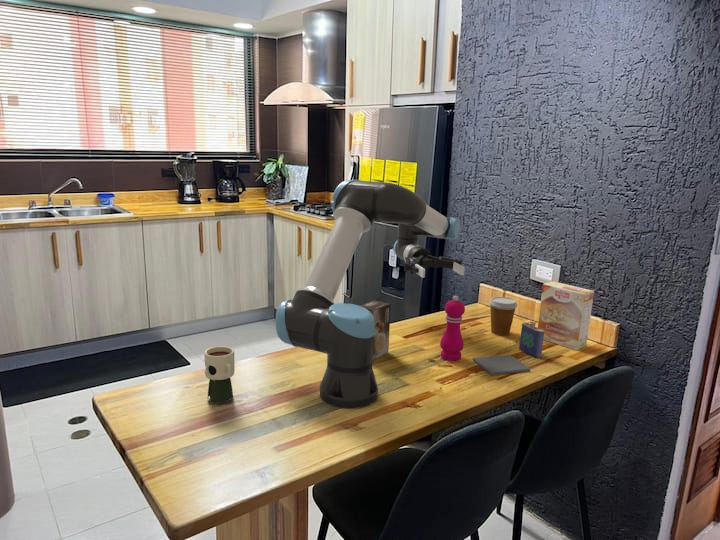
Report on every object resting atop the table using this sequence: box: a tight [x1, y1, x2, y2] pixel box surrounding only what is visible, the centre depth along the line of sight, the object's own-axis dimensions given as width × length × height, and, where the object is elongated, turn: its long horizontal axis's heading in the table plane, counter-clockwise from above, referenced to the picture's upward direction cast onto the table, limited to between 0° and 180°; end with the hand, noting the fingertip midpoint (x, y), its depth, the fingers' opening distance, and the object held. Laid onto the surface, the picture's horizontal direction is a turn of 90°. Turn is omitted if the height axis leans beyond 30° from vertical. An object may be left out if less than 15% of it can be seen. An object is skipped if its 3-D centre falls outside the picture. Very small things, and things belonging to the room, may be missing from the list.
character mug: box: [203, 345, 235, 404], centre depth 135 cm, size 11×7×13 cm, turn 41°
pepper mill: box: [439, 295, 466, 362], centre depth 167 cm, size 7×7×20 cm
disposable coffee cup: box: [488, 296, 518, 336], centre depth 192 cm, size 10×10×12 cm
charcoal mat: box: [471, 354, 531, 376], centre depth 165 cm, size 13×11×1 cm
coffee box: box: [359, 299, 392, 361], centre depth 168 cm, size 9×6×16 cm
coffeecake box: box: [537, 280, 595, 351], centre depth 185 cm, size 15×7×20 cm, turn 42°
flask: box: [518, 320, 545, 359], centre depth 175 cm, size 9×3×11 cm, turn 25°
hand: (443, 272), depth 172 cm, fingers open, 13 cm apart
